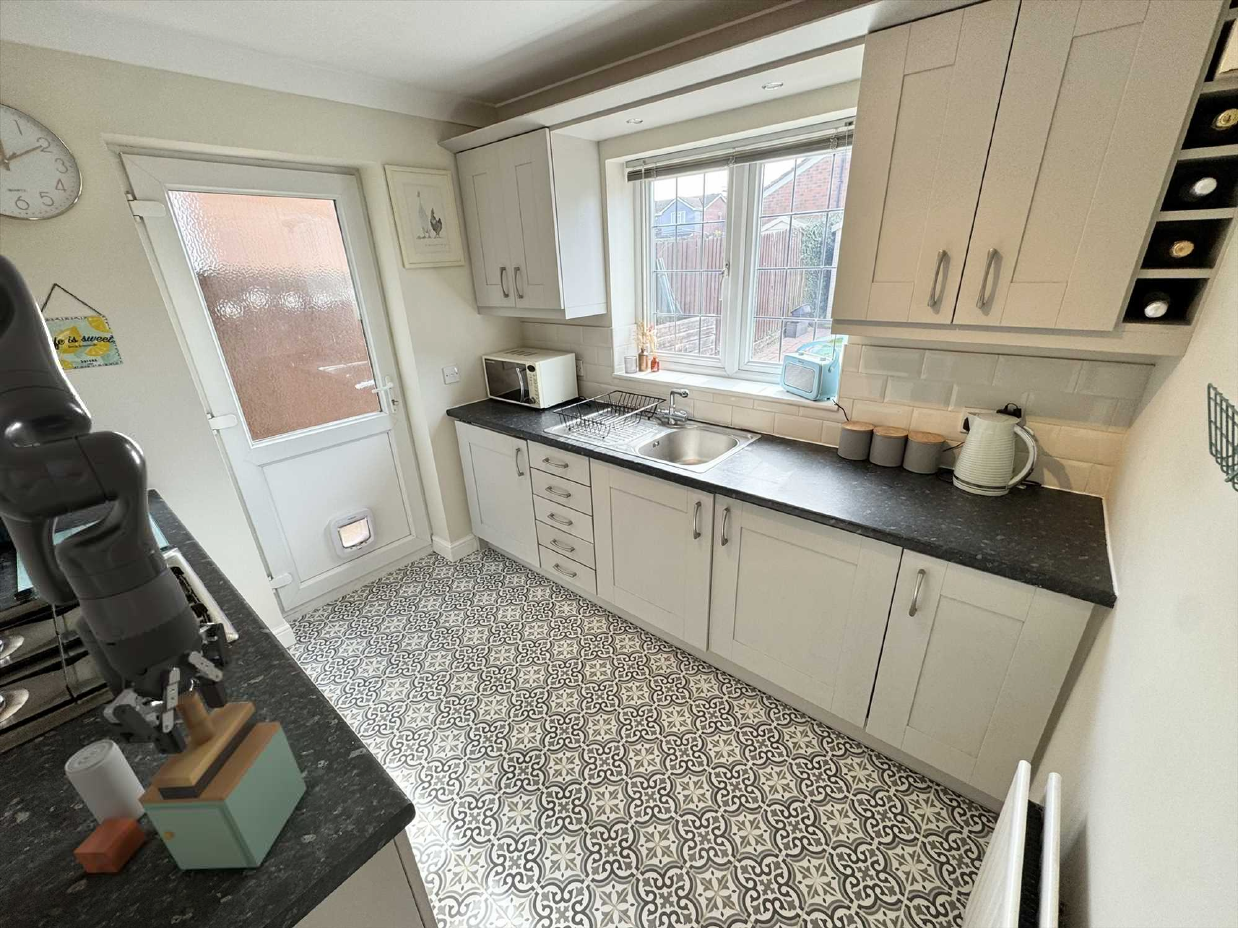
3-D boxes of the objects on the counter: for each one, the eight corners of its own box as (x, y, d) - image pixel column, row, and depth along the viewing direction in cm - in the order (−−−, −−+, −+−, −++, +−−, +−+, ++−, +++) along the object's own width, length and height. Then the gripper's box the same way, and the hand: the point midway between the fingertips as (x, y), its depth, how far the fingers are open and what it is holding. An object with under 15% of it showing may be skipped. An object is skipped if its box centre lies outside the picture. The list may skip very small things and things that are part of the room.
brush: (260, 720, 65) (235, 663, 62) (200, 798, 55) (166, 735, 52) (228, 722, 65) (201, 665, 62) (161, 800, 55) (125, 737, 52)
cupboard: (239, 790, 70) (206, 724, 65) (307, 787, 70) (279, 721, 65) (174, 877, 60) (130, 806, 55) (253, 874, 59) (216, 803, 55)
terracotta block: (105, 818, 63) (134, 817, 63) (118, 838, 64) (147, 837, 64) (72, 852, 59) (103, 852, 59) (87, 872, 61) (117, 872, 60)
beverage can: (160, 799, 69) (125, 739, 65) (125, 835, 65) (84, 773, 60) (130, 797, 70) (94, 737, 65) (94, 833, 65) (51, 771, 61)
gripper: (166, 577, 59) (214, 682, 65) (32, 664, 46) (110, 786, 52) (226, 574, 59) (269, 680, 65) (110, 661, 45) (178, 784, 52)
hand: (198, 726), depth 58 cm, fingers open, 5 cm apart
